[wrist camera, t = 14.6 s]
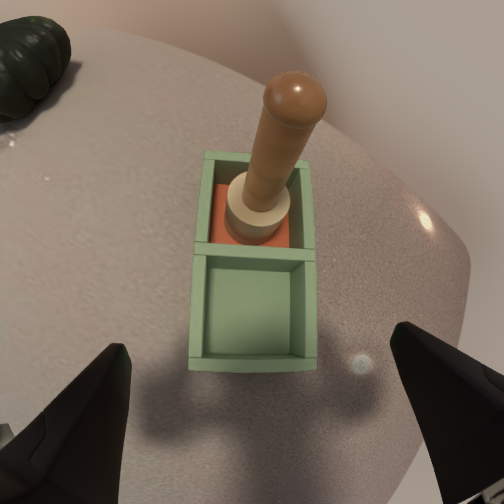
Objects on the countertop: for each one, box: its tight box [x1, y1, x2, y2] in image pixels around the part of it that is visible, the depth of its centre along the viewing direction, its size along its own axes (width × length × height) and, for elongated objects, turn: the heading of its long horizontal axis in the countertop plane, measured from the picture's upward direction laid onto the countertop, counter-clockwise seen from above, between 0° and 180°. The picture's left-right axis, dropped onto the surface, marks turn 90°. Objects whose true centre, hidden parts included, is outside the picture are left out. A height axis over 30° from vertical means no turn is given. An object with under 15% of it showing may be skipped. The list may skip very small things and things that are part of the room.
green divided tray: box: [188, 150, 317, 373], centre depth 18 cm, size 14×8×4 cm, turn 179°
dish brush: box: [224, 71, 327, 246], centre depth 14 cm, size 4×4×13 cm
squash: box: [0, 16, 71, 123], centre depth 17 cm, size 14×15×15 cm
